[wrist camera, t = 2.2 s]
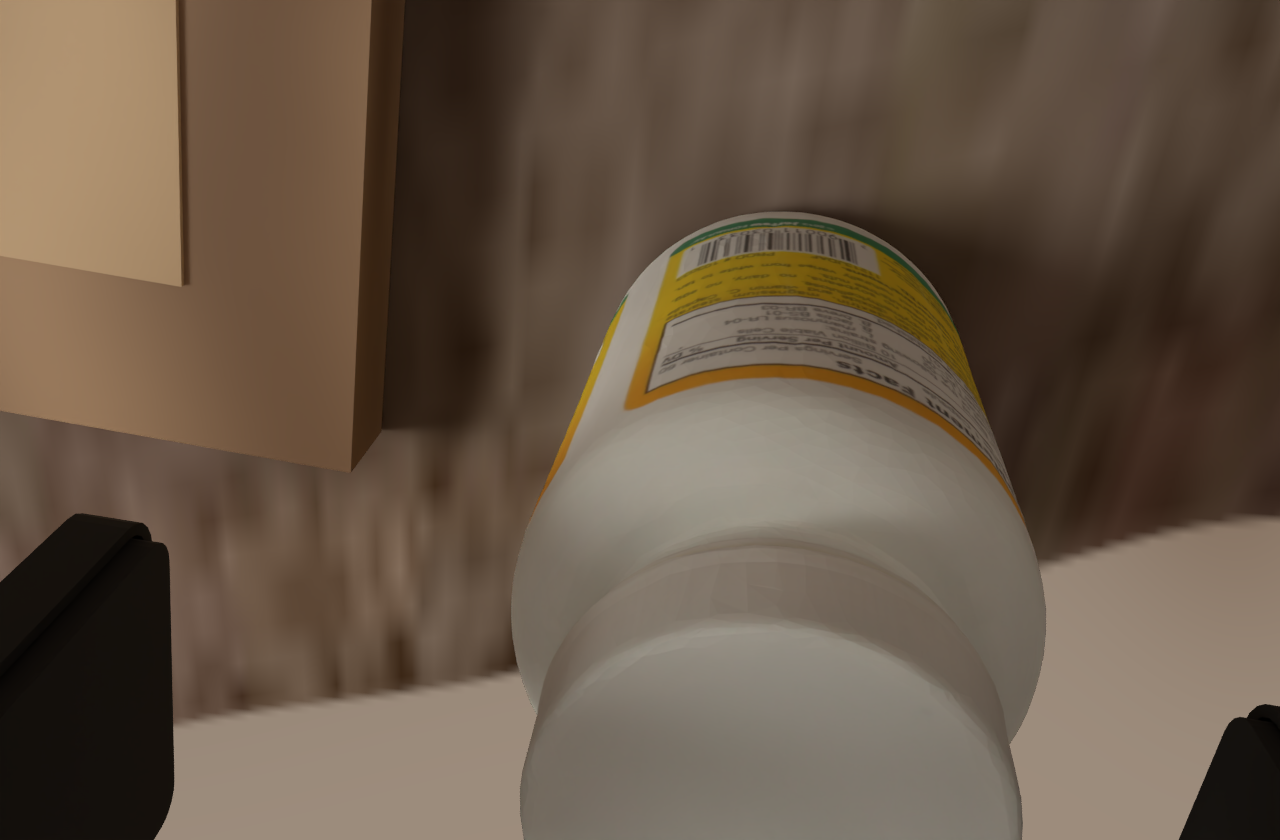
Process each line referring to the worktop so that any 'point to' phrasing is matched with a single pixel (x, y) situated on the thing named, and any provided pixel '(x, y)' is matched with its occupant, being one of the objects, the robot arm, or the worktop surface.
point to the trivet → (200, 219)
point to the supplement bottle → (777, 561)
